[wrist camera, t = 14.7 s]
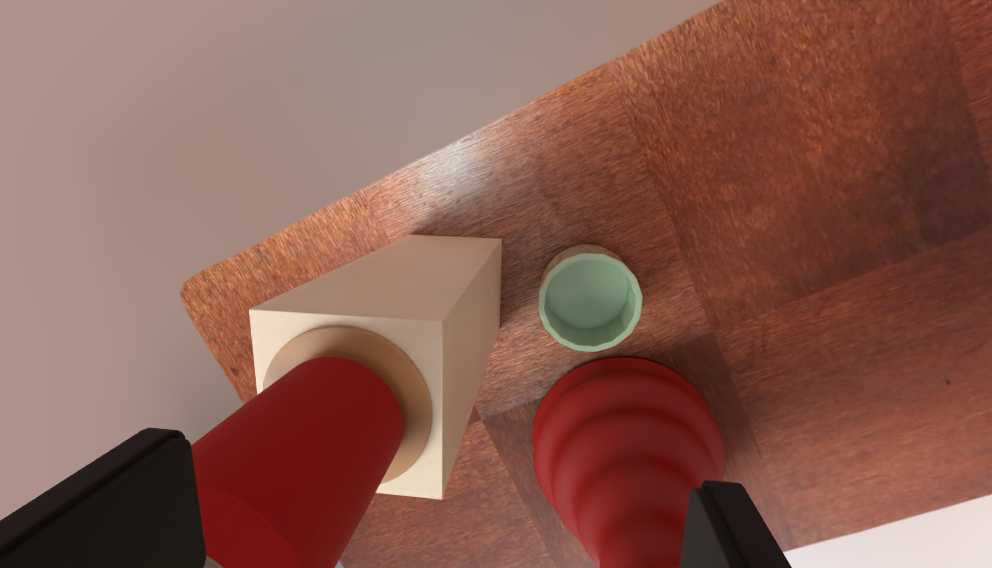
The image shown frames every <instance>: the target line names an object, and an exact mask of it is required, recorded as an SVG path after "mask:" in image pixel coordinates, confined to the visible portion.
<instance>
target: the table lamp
mask: <svg viewBox="0 0 992 568" xmlns="http://www.w3.org/2000/svg"><path fill="white" fill-rule="evenodd" d="M533 444H534V454H533V458H534V469H535V474H536V477H537V480H538V483H539V486H540V488H541V490H542V491H543V493H544V495H545V497H546V498H547V500H548V501H549V503H550V504H551V505H552V506H553V507H554V508H555V510H556V511H557V513H558V514H559V516H560V518H561V520H562V521H563V523H564V525H565V526H566V527H567V528H568V529H569V531H570V532H571V533H572V534H573V535H574V536H575V537H576V538H577V539H579V540H580V541H581V543H582V545H583V547H584V548H585V550H586V552H587V553H588V554H589V556H590V557H591V558H592V559H593V560H594V561H595V563H596V564H597V565H598V566H599V567H600V568H679V566H680V559H681V552H682V546H683V539H684V532H685V525H686V518H687V511H688V504H689V497H690V492H691V490H692V488H701V485H702V483H703V481H705V480H713V481H722V478H723V474H724V470H725V448H724V444H723V440H722V435H721V433H720V431H719V429H718V427H717V425H716V423H715V421H714V419H713V417H712V415H711V412H710V410H709V408H708V406H707V404H706V402H705V400H704V398H703V397H702V396H701V394H700V393H699V392H698V391H697V390H696V388H695V387H694V386H693V385H692V384H691V383H690V382H688V381H687V380H686V379H685V378H683V377H682V376H681V375H680V374H678V373H676V372H674V371H673V370H671V369H669V368H667V367H666V366H664V365H661V364H658V363H655V362H652V361H649V360H646V359H638V358H630V357H622V358H608V359H603V360H599V361H594V362H590V363H588V364H585V365H583V366H581V367H578V368H576V369H574V370H572V371H571V372H570V373H568V374H567V375H565V376H564V377H563V378H561V379H560V380H559V381H558V382H557V383H556V384H555V385H554V386H553V387H552V388H551V389H550V391H549V392H548V393H547V395H546V396H545V398H544V399H543V401H542V403H541V404H540V406H539V409H538V411H537V414H536V417H535V419H534V427H533Z"/></svg>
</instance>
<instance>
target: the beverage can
mask: <svg viewBox="0 0 992 568" xmlns="http://www.w3.org/2000/svg"><path fill="white" fill-rule="evenodd" d="M402 435H403V418H402V413H401V409H400V406H399V403H398V401H397V399H396V397H395V395H394V393H393V392H392V390H391V389H390V387H389V386H388V385H387V384H386V383H385V381H384V380H383V379H382V378H381V377H379V376H378V375H377V374H376V373H375V372H373V371H372V370H370V369H369V368H367V367H366V366H364V365H362V364H360V363H358V362H355V361H352V360H349V359H345V358H340V357H320V358H315V359H311V360H308V361H305V362H303V363H301V364H299V365H297V366H296V367H294V368H293V369H292V370H290V371H289V372H288V373H286V374H285V375H284V376H282V377H281V378H280V379H278V380H277V381H275V382H274V383H273V384H271V385H270V386H269V387H267V388H266V389H265V390H263V391H262V392H261V393H259V394H258V395H257V396H255V397H254V398H253V399H251V400H250V401H249V402H247V403H246V404H245V405H244V406H242V407H241V408H240V409H238V410H237V411H236V412H235V413H233V414H232V415H231V416H229V417H228V418H227V419H225V420H224V421H223V422H221V423H220V424H219V425H218V426H216V427H215V428H213V429H212V430H211V431H210V432H208V433H207V434H206V435H204V436H203V437H202V438H200V439H199V440H198V441H196V442H195V443H194V444H193V445H191V448H192V455H193V462H194V470H195V477H196V484H197V491H198V498H199V505H200V512H201V519H202V526H203V533H204V540H205V548H206V562H205V565H204V568H335V566H336V564H337V562H338V560H339V559H340V557H341V555H342V553H343V551H344V550H345V548H346V546H347V544H348V542H349V540H350V539H351V537H352V535H353V533H354V531H355V530H356V528H357V526H358V524H359V522H360V520H361V519H362V517H363V515H364V513H365V511H366V509H367V508H368V506H369V504H370V502H371V500H372V498H373V496H374V495H375V493H376V491H377V489H378V487H379V485H380V483H381V481H382V480H383V478H384V476H385V474H386V472H387V470H388V468H389V466H390V464H391V462H392V461H393V459H394V457H395V455H396V453H397V451H398V449H399V446H400V444H401V440H402Z"/></svg>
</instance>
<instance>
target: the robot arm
mask: <svg viewBox="0 0 992 568" xmlns="http://www.w3.org/2000/svg"><path fill="white" fill-rule="evenodd" d="M205 562H206V548H205V540H204V533H203V526H202V519H201V512H200V505H199V498H198V491H197V484H196V477H195V470H194V462H193V455H192V448H191V444H190V442H189V441H188V440H186V439H185V436H184V435H183V433H182V432H180V431H178V430H169V429H159V428H147V429H144V430H142V431H140V432H138V433H137V434H135V435H134V436H132V437H131V438H129V439H128V440H126V441H125V442H123V443H121V444H120V445H118V446H117V447H115V448H114V449H112V450H110V451H109V452H107V453H106V454H104V455H102V456H101V457H100V458H98V459H96V460H95V461H93V462H92V463H90V464H89V465H87V466H85V467H84V468H82V469H80V470H79V471H77V472H76V473H74V474H73V475H71V476H70V477H68V478H66V479H65V480H63V481H62V482H60V483H59V484H57V485H56V486H54V487H52V488H51V489H49V490H48V491H46V492H44V493H43V494H41V495H40V496H38V497H37V498H35V499H34V500H32V501H31V502H29V503H27V504H26V505H24V506H23V507H21V508H20V509H18V510H16V511H15V512H13V513H12V514H10V515H9V516H7V517H5V518H4V519H2V520H1V521H0V568H204V565H205ZM679 568H792V567H791V566H790V564H789V562H788V561H787V559H786V557H785V556H784V554H783V552H782V550H781V549H780V547H779V545H778V544H777V542H776V540H775V539H774V537H773V535H772V534H771V532H770V530H769V529H768V527H767V525H766V524H765V522H764V520H763V519H762V517H761V515H760V514H759V512H758V510H757V508H756V507H755V505H754V503H753V502H752V500H751V498H750V497H749V495H748V493H747V492H746V490H745V488H744V487H743V486H742V485H741V484H739V483H734V482H723V481H713V480H705V481H703V483H702V485H701V488H692V490H691V492H690V497H689V504H688V511H687V518H686V525H685V532H684V539H683V546H682V552H681V559H680V566H679Z"/></svg>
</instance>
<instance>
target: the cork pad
mask: <svg viewBox="0 0 992 568" xmlns="http://www.w3.org/2000/svg"><path fill="white" fill-rule="evenodd" d="M320 357H340V358H345V359H349V360H352V361H355V362H358V363H360V364H362V365H364V366H366V367H367V368H369V369H370V370H372V371H373V372H375V373H376V374H377V375H378V376H379V377H381V378H382V379H383V380H384V381H385V383H386V384H387V385H388V386H389V387H390V389H391V390H392V392H393V393H394V395H395V397H396V399H397V401H398V403H399V406H400V409H401V413H402V418H403V435H402V440H401V444H400V446H399V449H398V451H397V453H396V455H395V457H394V459H393V461H392V462H391V464H390V466H389V468H388V470H387V472H386V474H385V476H384V478H383V480H382V481H381V483H380V484H383V483H386V482H389V481H391V480H393V479H395V478H397V477H399V476H400V475H401V474H403V473H404V472H406V471H407V470H408V469H409V468H410V467H411V466H412V465H413V464H414V463H415V462H416V461H417V459H418V458H419V457H420V455H421V453H422V452H423V450H424V448H425V446H426V444H427V441H428V438H429V436H430V432H431V427H432V417H433V413H432V403H431V398H430V393H429V391H428V388H427V385H426V382H425V381H424V379H423V377H422V375H421V373H420V371H419V370H418V368H417V367H416V365H415V364H414V363H413V361H412V360H411V359H410V358H409V357H408V356H407V355H406V354H405V353H404V352H403V351H402V350H401V349H400V348H399V347H398V346H396V345H395V344H393V343H392V342H390V341H389V340H388V339H386V338H384V337H382V336H380V335H378V334H376V333H374V332H371V331H369V330H366V329H362V328H358V327H354V326H346V325H329V326H322V327H318V328H314V329H311V330H308V331H306V332H304V333H302V334H300V335H298V336H297V337H295V338H293V339H292V340H290V341H289V342H288V343H287V344H285V345H284V346H283V347H282V348H281V349H280V350H279V351H278V353H277V354H276V355H275V356H274V358H273V360H272V361H271V363H270V365H269V367H268V369H267V372H266V375H265V378H264V382H263V390H265V389H266V388H267V387H269V386H270V385H271V384H273V383H274V382H275V381H277V380H278V379H280V378H281V377H282V376H284V375H285V374H286V373H288V372H289V371H290V370H292V369H293V368H294V367H296V366H297V365H299V364H301V363H303V362H305V361H308V360H311V359H315V358H320ZM263 390H262V391H263Z"/></svg>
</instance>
